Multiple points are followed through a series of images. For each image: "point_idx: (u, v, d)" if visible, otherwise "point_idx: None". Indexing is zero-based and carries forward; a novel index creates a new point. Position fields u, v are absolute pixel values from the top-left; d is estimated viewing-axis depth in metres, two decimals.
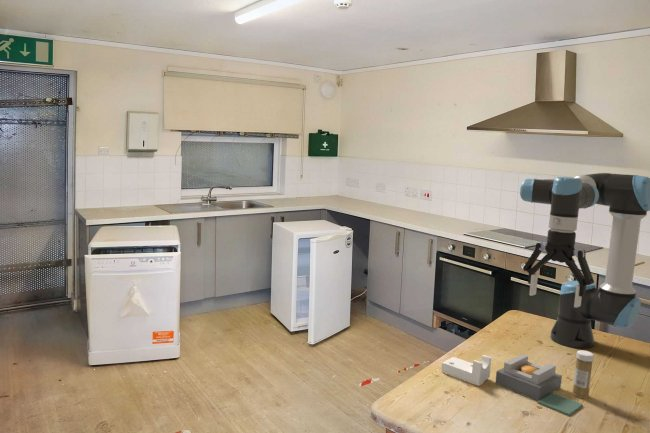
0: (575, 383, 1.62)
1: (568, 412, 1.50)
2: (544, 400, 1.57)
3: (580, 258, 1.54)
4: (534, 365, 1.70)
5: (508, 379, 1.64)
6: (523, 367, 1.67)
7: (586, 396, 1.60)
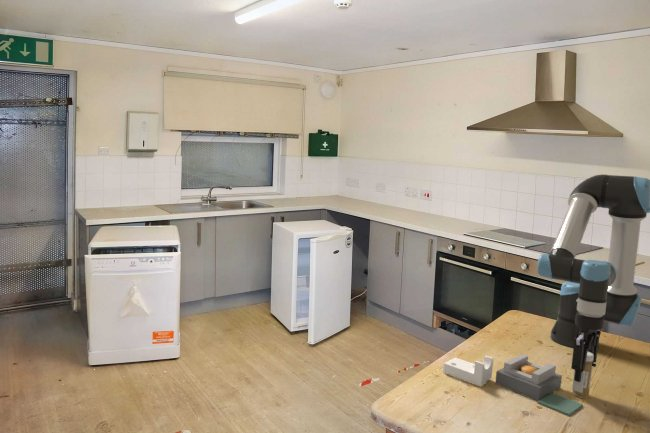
0: None
1: (568, 412, 1.50)
2: (544, 400, 1.57)
3: None
4: (534, 365, 1.70)
5: (508, 379, 1.64)
6: (523, 367, 1.67)
7: (586, 396, 1.60)
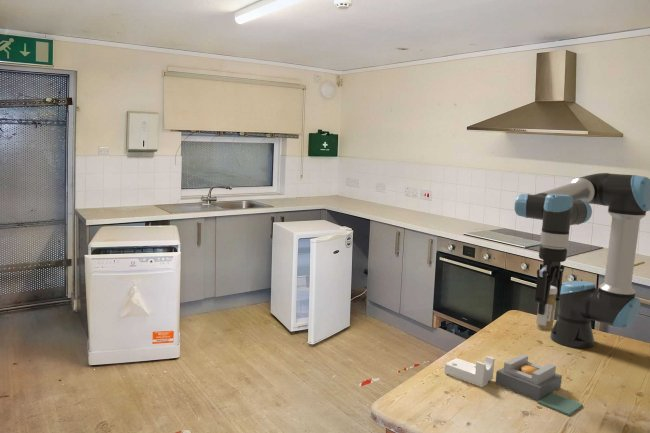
0: None
1: (568, 412, 1.50)
2: (544, 400, 1.57)
3: None
4: (534, 365, 1.70)
5: (508, 379, 1.64)
6: (523, 367, 1.67)
7: (550, 329, 1.61)
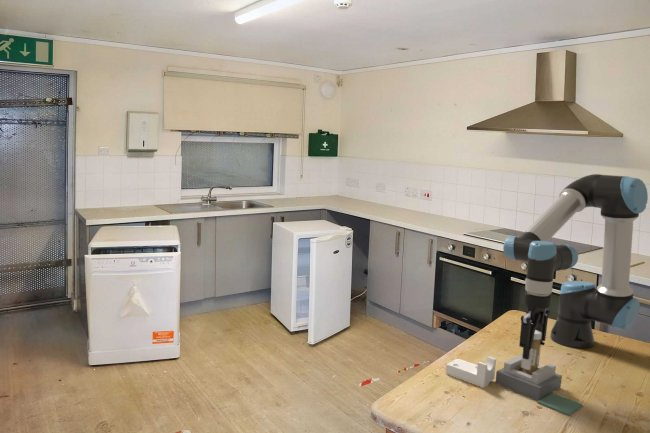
0: None
1: (568, 412, 1.50)
2: (544, 400, 1.57)
3: None
4: None
5: (508, 379, 1.64)
6: None
7: None
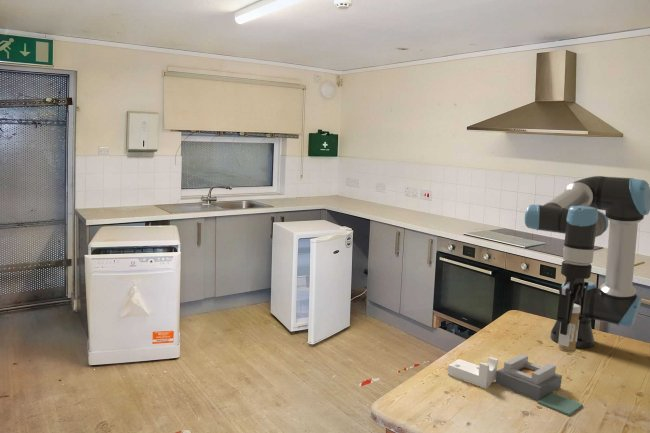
0: None
1: (568, 412, 1.50)
2: (544, 400, 1.57)
3: None
4: (534, 365, 1.70)
5: (508, 379, 1.64)
6: (523, 371, 1.68)
7: (573, 350, 1.51)
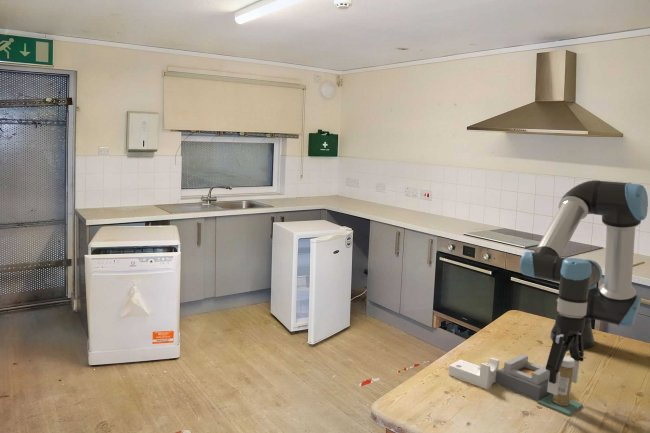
0: None
1: (568, 412, 1.50)
2: (544, 400, 1.57)
3: None
4: (534, 365, 1.70)
5: (508, 379, 1.64)
6: (523, 371, 1.68)
7: (566, 403, 1.54)
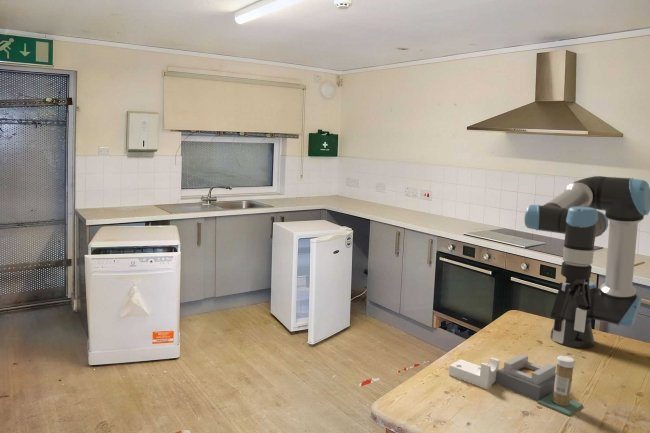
0: (555, 390, 1.55)
1: (568, 412, 1.50)
2: (544, 400, 1.57)
3: None
4: (534, 365, 1.70)
5: (508, 379, 1.64)
6: (523, 371, 1.68)
7: (566, 404, 1.54)
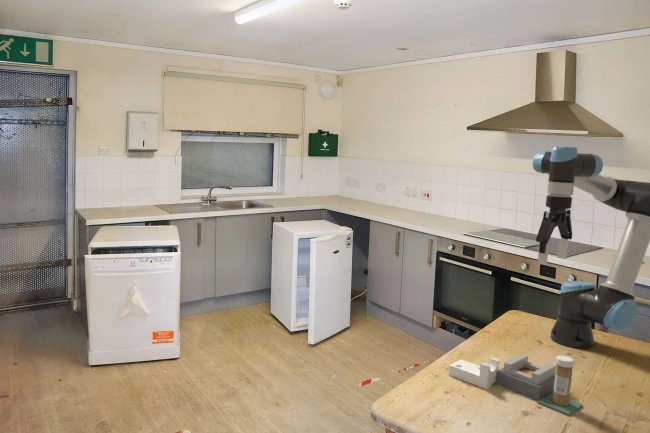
0: (555, 390, 1.55)
1: (568, 412, 1.50)
2: (544, 400, 1.57)
3: None
4: (534, 365, 1.70)
5: (508, 379, 1.64)
6: (523, 371, 1.68)
7: (566, 403, 1.54)
